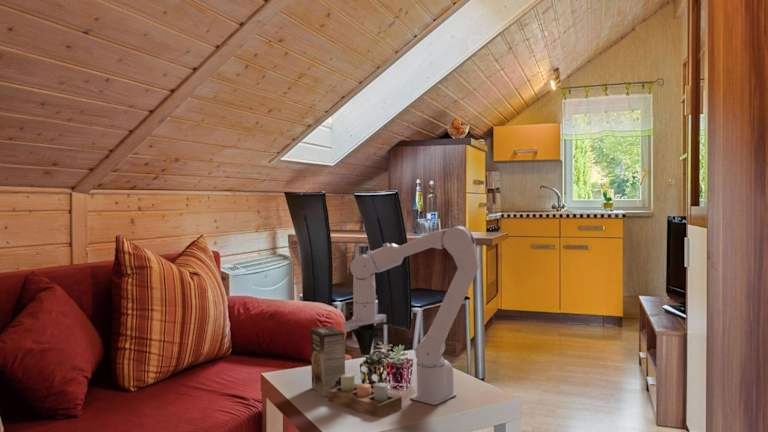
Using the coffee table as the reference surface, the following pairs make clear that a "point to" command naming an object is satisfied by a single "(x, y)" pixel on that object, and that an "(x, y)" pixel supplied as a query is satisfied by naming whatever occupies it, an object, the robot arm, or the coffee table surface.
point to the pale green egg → (347, 383)
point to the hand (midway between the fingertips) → (365, 354)
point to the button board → (365, 402)
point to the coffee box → (327, 358)
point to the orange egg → (363, 390)
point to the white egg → (381, 392)
